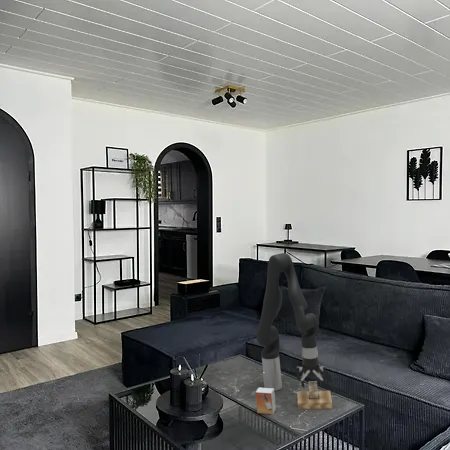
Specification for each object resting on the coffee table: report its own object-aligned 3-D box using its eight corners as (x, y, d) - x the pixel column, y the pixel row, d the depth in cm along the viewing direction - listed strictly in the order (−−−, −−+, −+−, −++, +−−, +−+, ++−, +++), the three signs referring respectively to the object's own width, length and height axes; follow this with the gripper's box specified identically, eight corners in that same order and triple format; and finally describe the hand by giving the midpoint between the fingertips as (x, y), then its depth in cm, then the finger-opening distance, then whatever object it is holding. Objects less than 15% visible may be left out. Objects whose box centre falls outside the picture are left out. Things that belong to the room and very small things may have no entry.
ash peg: (310, 405, 208) (308, 385, 208) (310, 400, 212) (308, 381, 212) (319, 404, 208) (317, 384, 207) (318, 400, 212) (316, 381, 211)
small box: (257, 413, 206) (254, 392, 205) (260, 407, 211) (258, 386, 210) (273, 414, 203) (271, 393, 202) (276, 408, 208) (274, 387, 208)
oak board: (298, 409, 206) (297, 403, 205) (298, 397, 217) (297, 391, 217) (332, 408, 203) (331, 402, 203) (330, 396, 215) (329, 390, 214)
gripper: (324, 351, 211) (326, 383, 212) (295, 352, 213) (297, 384, 215) (325, 357, 204) (328, 390, 205) (295, 358, 206) (297, 391, 207)
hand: (312, 387), depth 210 cm, fingers open, 8 cm apart
